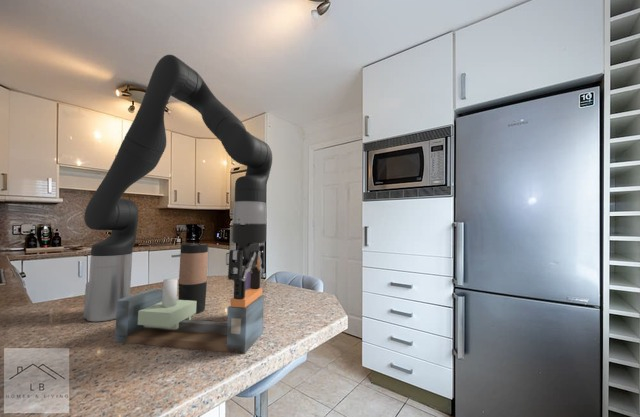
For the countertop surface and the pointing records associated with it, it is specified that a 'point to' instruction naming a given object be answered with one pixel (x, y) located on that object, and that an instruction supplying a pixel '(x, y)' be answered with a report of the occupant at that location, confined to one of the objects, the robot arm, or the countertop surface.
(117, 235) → the robot arm
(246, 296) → the orange rectangular bar
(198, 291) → the travel mug
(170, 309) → the carriage
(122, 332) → the rail base
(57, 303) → the countertop surface
